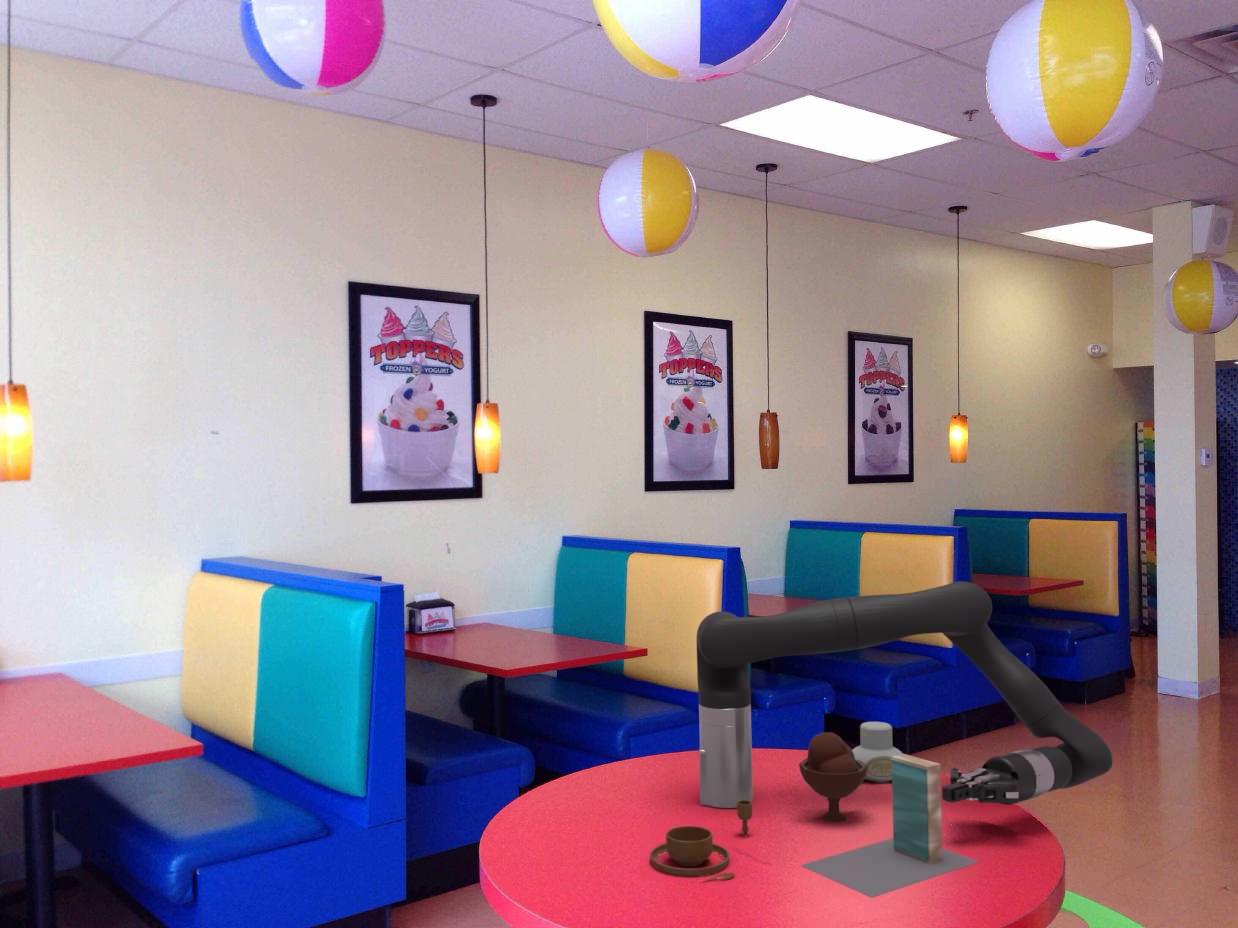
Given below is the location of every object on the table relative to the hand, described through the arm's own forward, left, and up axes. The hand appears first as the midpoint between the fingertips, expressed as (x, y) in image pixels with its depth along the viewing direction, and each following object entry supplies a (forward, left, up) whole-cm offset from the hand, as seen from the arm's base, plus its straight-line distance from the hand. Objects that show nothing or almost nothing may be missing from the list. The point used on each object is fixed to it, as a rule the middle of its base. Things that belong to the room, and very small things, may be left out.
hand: (946, 794), depth 156 cm
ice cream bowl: (-16, +12, -9) cm, 22 cm away
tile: (-5, -4, -8) cm, 10 cm away
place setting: (-35, -6, -9) cm, 37 cm away
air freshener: (-6, +38, -9) cm, 39 cm away
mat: (-10, -8, -8) cm, 15 cm away
